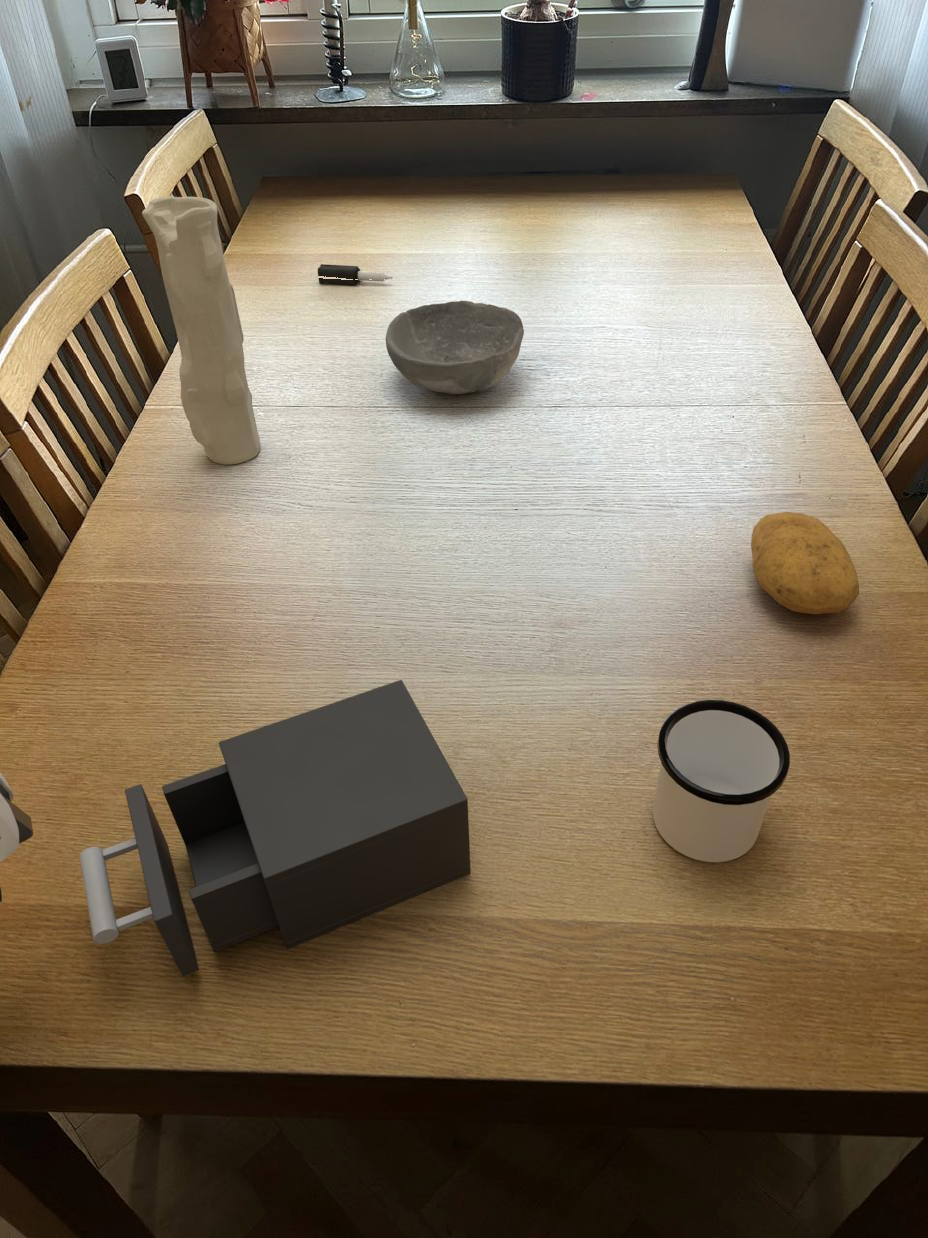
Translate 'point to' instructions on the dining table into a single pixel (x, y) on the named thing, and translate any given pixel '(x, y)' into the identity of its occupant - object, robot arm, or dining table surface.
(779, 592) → the potato
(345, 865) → the dark grey drawer box
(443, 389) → the bowl
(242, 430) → the vase
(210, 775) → the drawer front with handle
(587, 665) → the dining table surface
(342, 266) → the black and grey marker
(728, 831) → the mug
